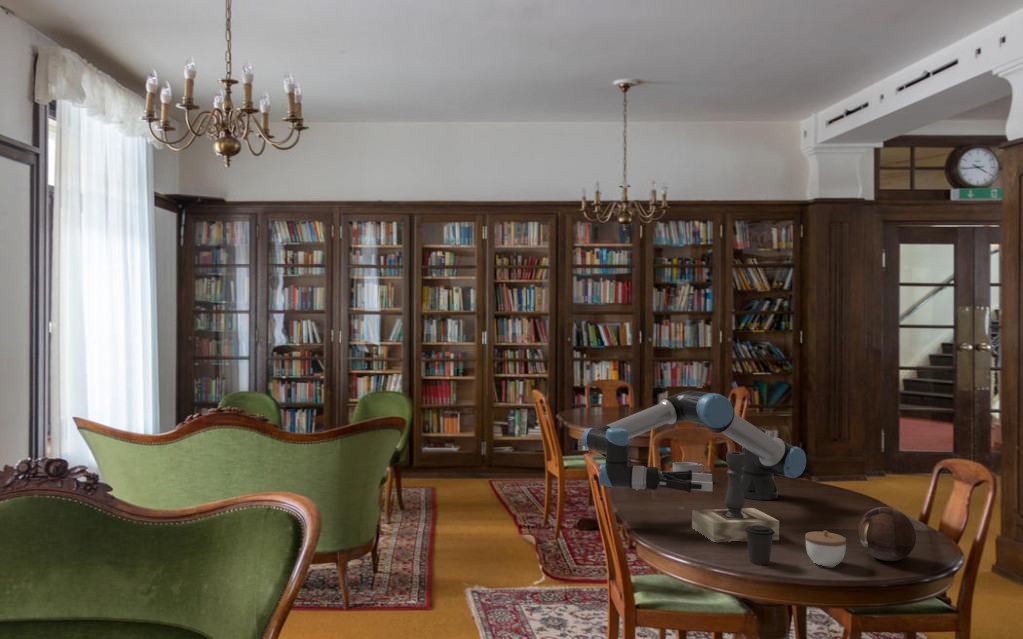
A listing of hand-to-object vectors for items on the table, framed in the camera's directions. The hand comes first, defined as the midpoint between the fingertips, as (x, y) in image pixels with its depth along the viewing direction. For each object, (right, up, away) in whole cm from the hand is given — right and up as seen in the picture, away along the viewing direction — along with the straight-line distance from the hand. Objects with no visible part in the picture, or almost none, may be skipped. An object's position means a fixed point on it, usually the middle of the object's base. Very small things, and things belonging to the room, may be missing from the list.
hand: (712, 482), depth 239 cm
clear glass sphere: (+43, -17, -26) cm, 53 cm away
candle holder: (+7, -15, -2) cm, 17 cm away
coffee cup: (+5, -16, -29) cm, 34 cm away
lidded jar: (+24, -17, -30) cm, 42 cm away
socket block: (+7, -16, -2) cm, 18 cm away
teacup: (+11, -17, +75) cm, 78 cm away
